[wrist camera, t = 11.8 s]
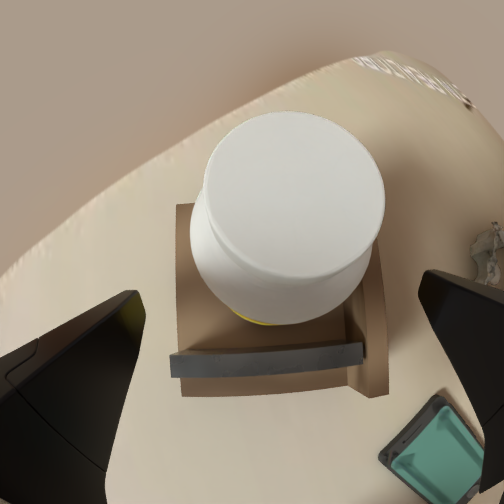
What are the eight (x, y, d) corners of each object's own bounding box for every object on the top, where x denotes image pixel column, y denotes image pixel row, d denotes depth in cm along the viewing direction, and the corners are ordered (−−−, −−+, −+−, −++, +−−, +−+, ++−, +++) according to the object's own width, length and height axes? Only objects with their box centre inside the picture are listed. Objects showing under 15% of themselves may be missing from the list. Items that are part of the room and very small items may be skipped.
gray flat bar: (342, 357, 18) (363, 364, 15) (186, 367, 18) (170, 377, 14) (341, 339, 19) (362, 342, 15) (185, 349, 19) (169, 354, 15)
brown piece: (355, 377, 20) (389, 394, 14) (188, 390, 20) (165, 412, 14) (338, 206, 23) (363, 170, 17) (182, 214, 23) (160, 179, 17)
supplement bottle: (330, 312, 19) (449, 287, 7) (228, 334, 19) (185, 354, 6) (305, 215, 21) (367, 80, 8) (209, 233, 20) (154, 107, 8)
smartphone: (451, 521, 15) (379, 461, 17) (445, 516, 16) (373, 455, 19) (500, 466, 16) (443, 391, 19) (493, 463, 17) (435, 388, 20)
